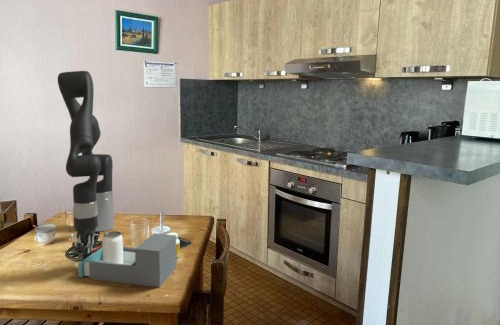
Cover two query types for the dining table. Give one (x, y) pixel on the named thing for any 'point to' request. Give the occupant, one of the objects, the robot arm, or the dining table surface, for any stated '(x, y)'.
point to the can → (112, 247)
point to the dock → (141, 263)
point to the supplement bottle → (176, 245)
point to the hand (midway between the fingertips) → (87, 262)
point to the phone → (184, 242)
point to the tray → (98, 256)
